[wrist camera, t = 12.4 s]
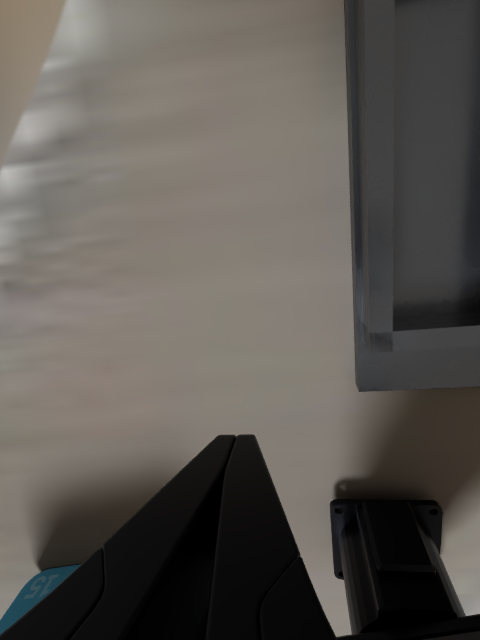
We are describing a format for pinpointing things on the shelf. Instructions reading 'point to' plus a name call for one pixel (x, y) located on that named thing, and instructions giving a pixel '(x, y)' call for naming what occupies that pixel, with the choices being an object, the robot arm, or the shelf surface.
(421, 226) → the rack
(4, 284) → the shelf surface
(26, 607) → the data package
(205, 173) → the shelf surface
